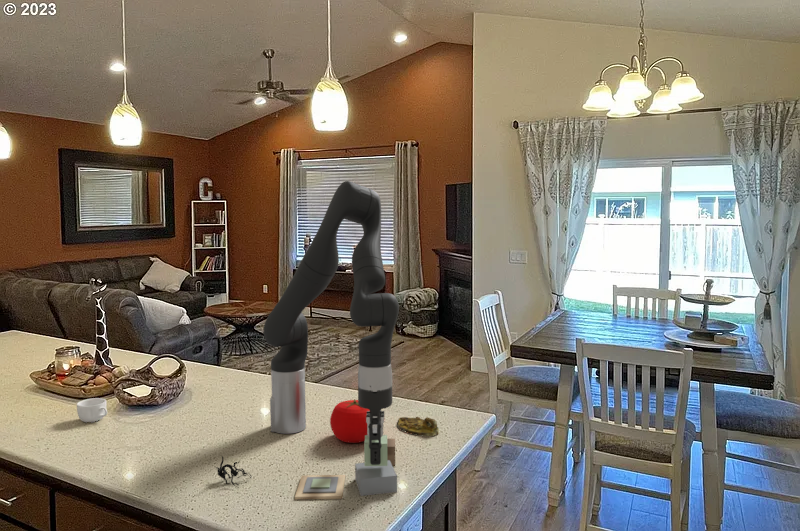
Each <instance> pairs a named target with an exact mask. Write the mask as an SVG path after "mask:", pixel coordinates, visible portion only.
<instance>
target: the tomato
mask: <svg viewBox="0 0 800 531" xmlns="http://www.w3.org/2000/svg"><path fill="white" fill-rule="evenodd" d="M367 411H370V410H369V409H365V408H362V407H360V406H359V404H358V399H355V398H354V399H350V400H344V401H340V402H339V403H337V404H336V405H335V406H334V408H333V409H332V412H331V415H330V418H329V422H330V429H331V431H332V432H333V434H334V436H335V438H337V439H338V440H339V441H341V442H344V443H350V444H352V443H353V444H355V443H362V442H365V435H367V422H366V415H367Z"/></svg>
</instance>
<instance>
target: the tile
mask: <svg viewBox="0 0 800 531" xmlns="http://www.w3.org/2000/svg"><path fill="white" fill-rule="evenodd" d="M345 482H346V474H324V475H322V474H318V475H316V474H314V475H313V474H312V475H310V474H309V475H301V477H300V479H299V483H298V485H297V488H296V492H295V495H294V500H343V497H344V495H343V494H344V489H345Z"/></svg>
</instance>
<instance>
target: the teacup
mask: <svg viewBox="0 0 800 531" xmlns="http://www.w3.org/2000/svg"><path fill="white" fill-rule="evenodd" d="M76 410H77V411H76V412H77V416H78V418H79V420H81V421H82V422H84V423H87V422H91V423H96V422H98V420H99V421H100V419H101V420H102V419H103V418H104V417H106V416H107V415H108V410H107V399H105V398H101V397H100V398H99V397H95V398H94V397H93V398H92V397H91V398H87V399H83V400H79V401H78V402H76ZM95 421H96V422H95Z"/></svg>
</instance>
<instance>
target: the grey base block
mask: <svg viewBox="0 0 800 531" xmlns="http://www.w3.org/2000/svg"><path fill="white" fill-rule="evenodd" d="M354 469H355V470H354V472H355V473H354V474H355V478H354V479H355V483H356V486H357V489H358V491H359V495H360V497H362V496H370V495H372V496H373V495H381V494H389V493H390V494H391V493H397V492H398V475H397V472H396V471H395V468H394V467H393V466H392V464H391V462H390V460H387V466H365V463H364V462H358V463H354Z"/></svg>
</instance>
